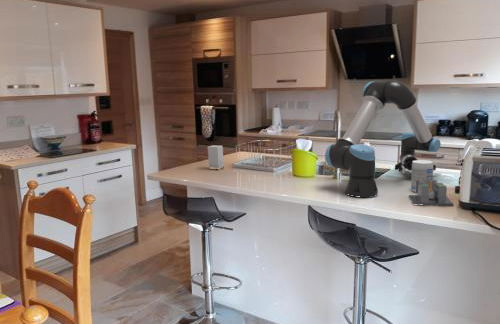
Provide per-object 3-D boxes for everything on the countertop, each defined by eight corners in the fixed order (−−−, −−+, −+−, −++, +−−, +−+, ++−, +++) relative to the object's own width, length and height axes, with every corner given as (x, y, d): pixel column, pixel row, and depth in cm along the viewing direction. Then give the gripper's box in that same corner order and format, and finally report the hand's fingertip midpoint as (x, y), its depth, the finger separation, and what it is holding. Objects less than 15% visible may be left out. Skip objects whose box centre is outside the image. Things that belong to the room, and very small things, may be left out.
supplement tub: (430, 194, 190) (432, 164, 187) (409, 192, 195) (410, 162, 192) (432, 189, 198) (434, 160, 196) (412, 187, 203) (413, 159, 200)
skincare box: (224, 168, 267) (223, 145, 264) (218, 170, 261) (217, 147, 258) (214, 167, 271) (213, 144, 268) (208, 169, 266) (207, 146, 263)
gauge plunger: (415, 192, 188) (416, 176, 187) (435, 193, 187) (436, 176, 185) (419, 198, 179) (420, 181, 177) (441, 199, 177) (442, 181, 175)
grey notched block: (408, 197, 186) (409, 179, 185) (445, 198, 183) (446, 180, 182) (413, 205, 175) (414, 186, 173) (453, 206, 172) (454, 186, 170)
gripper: (434, 169, 223) (444, 178, 202) (386, 169, 228) (392, 177, 208) (434, 155, 221) (445, 163, 201) (387, 156, 227) (392, 163, 206)
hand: (418, 170), depth 204 cm, fingers open, 13 cm apart
